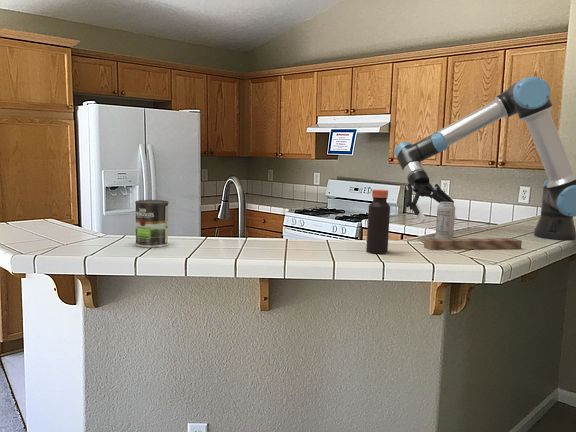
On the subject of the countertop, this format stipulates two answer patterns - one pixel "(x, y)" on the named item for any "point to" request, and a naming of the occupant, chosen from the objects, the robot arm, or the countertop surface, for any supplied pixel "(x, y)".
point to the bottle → (378, 223)
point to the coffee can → (151, 223)
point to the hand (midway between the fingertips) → (438, 220)
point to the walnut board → (471, 243)
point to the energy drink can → (445, 220)
